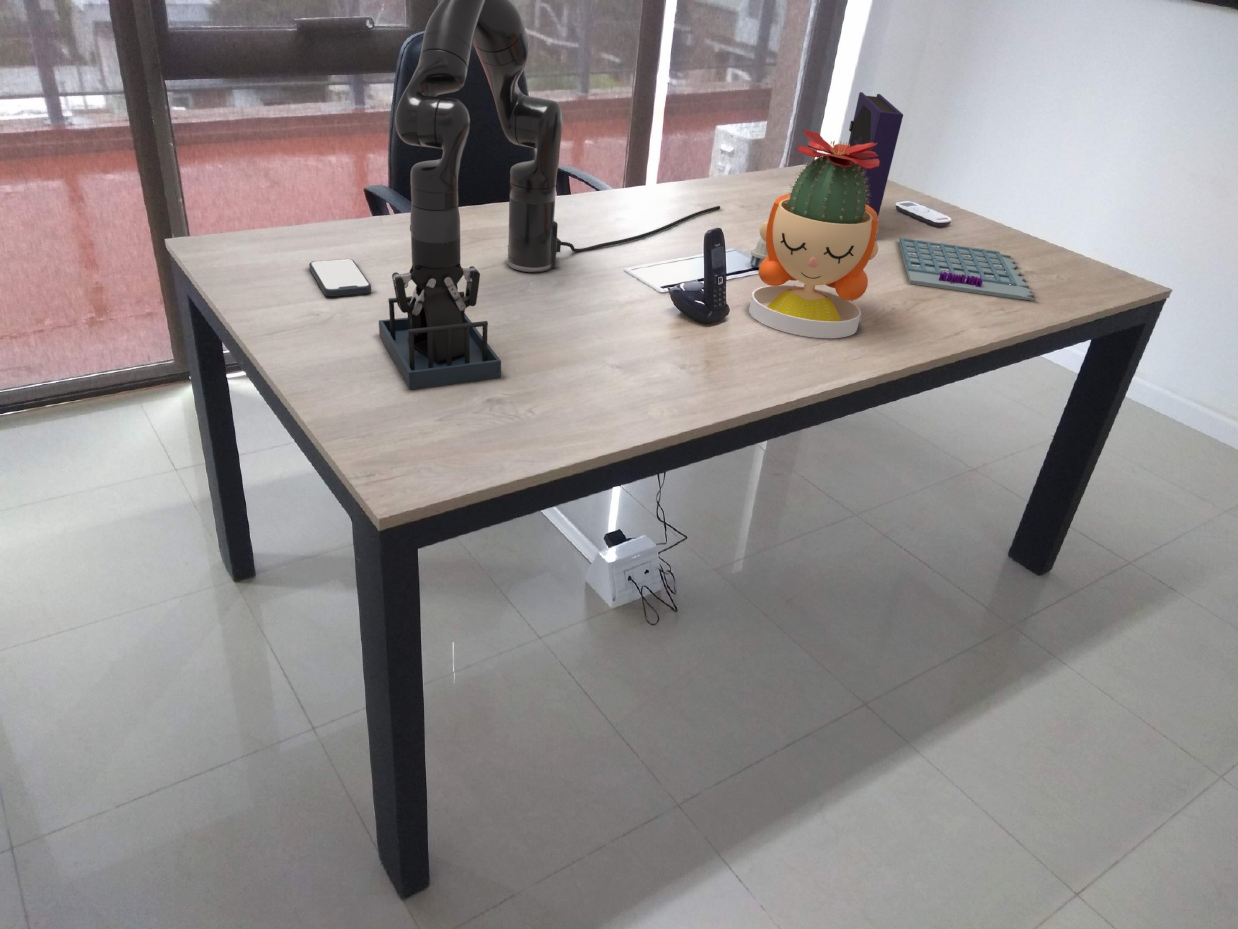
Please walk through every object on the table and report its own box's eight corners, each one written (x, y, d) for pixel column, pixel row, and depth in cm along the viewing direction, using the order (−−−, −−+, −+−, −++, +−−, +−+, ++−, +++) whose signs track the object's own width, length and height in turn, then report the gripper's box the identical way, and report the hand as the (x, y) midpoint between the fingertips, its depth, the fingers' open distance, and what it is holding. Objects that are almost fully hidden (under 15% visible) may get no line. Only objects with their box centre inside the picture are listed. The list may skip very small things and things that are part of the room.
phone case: (308, 269, 179) (325, 298, 167) (307, 261, 178) (324, 290, 167) (353, 265, 183) (373, 294, 171) (352, 257, 182) (373, 285, 170)
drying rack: (463, 327, 163) (463, 282, 158) (500, 377, 148) (501, 330, 143) (379, 336, 157) (376, 290, 152) (409, 389, 142) (407, 340, 137)
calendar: (1011, 258, 223) (1014, 249, 221) (1036, 301, 199) (1039, 291, 198) (898, 243, 226) (901, 233, 224) (909, 283, 202) (912, 273, 200)
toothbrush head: (841, 239, 211) (768, 239, 196) (832, 267, 214) (759, 268, 199) (824, 232, 214) (751, 231, 199) (816, 259, 217) (743, 260, 202)
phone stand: (407, 343, 152) (404, 275, 146) (437, 334, 156) (436, 267, 150) (438, 363, 147) (437, 294, 141) (469, 354, 151) (468, 286, 144)
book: (874, 240, 225) (905, 114, 209) (849, 238, 225) (878, 111, 209) (854, 211, 245) (881, 93, 229) (831, 209, 245) (857, 91, 228)
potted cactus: (854, 346, 170) (902, 155, 152) (738, 322, 175) (770, 134, 156) (863, 305, 188) (906, 130, 169) (757, 285, 193) (788, 112, 174)
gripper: (395, 244, 135) (400, 346, 144) (487, 237, 141) (487, 336, 150) (383, 227, 141) (388, 327, 150) (472, 221, 147) (472, 318, 156)
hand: (437, 331), depth 150 cm, fingers closed on phone stand, 6 cm apart
